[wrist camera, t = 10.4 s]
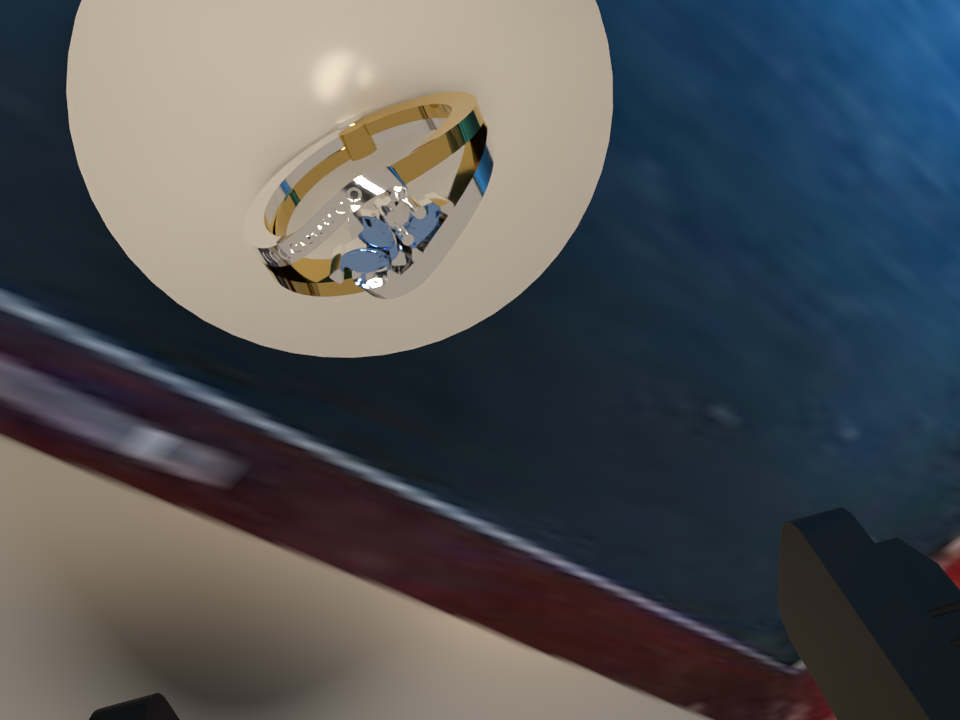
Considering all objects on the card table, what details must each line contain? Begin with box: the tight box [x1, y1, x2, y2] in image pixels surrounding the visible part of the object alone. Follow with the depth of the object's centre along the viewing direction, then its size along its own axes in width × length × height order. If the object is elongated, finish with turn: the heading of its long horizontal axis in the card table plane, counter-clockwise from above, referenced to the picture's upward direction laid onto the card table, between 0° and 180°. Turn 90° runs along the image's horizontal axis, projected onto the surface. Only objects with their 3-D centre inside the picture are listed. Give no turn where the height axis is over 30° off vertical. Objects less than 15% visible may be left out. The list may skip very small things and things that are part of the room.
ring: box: [243, 92, 495, 299], centre depth 23 cm, size 7×3×8 cm, turn 112°
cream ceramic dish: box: [66, 0, 613, 358], centre depth 27 cm, size 16×16×1 cm
